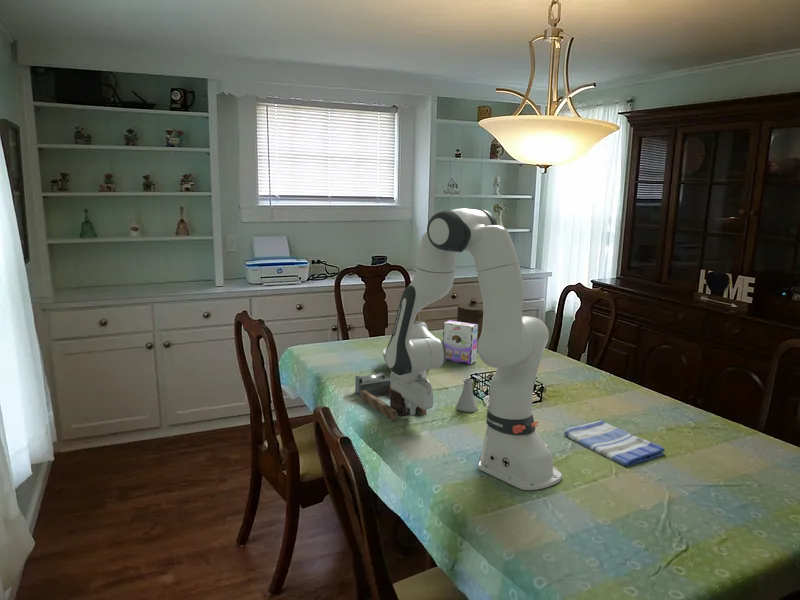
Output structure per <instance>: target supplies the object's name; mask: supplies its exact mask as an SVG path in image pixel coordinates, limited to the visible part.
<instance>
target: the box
mask: <svg viewBox="0 0 800 600" xmlns="http://www.w3.org/2000/svg"><path fill="white" fill-rule="evenodd" d="M389 396H390V400H389V404H390V405H389V406H390V407H392V408H393V409H395V410H396V411H397V415H399V416H407V415H410V414H409V413H408V412H406V405H405V402H404V398H403V397H402V395H401V393H399V392H397V391H395V390H394V389H392V390H390V394H389Z"/></svg>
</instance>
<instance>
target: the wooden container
mask: <svg viewBox="0 0 800 600" xmlns="http://www.w3.org/2000/svg"><path fill="white" fill-rule="evenodd" d="M469 301H470V303H460V304H458V306H457V317H456V318H457V319H456V321H457V322H464V323H470V324H477V325H478V333H477V344H478V340H479V338H480V335H481V333H482V327H483V303H482V304H481V303H477V302H478V299H477V298H476V297H473V298H470V299H469Z"/></svg>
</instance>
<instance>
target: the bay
mask: <svg viewBox="0 0 800 600" xmlns="http://www.w3.org/2000/svg"><path fill="white" fill-rule="evenodd" d="M390 390H392V389H391V386H390V378H385V379H384V380H378V381H372V382H366V383H360V384H359V395H358V398H359V399H360V400H362V401H364V402H365V403H366V404H368V405H369V406H370V407H372V408H373V409H375V410H376V411H378V412H379V413H380V414H382V415H383V414H384V416H385V417H386V416H387V417H386V418H387V419H389V418H390V420H391V421H392V422H396V421H398V414H397V411H396V410H395V409H393V408H392V407H390V405H388V404H387V403H386V402H384V401H382V400H381V399H380V398H378V397H379V396H383V395H384V394H385V395H390ZM378 395H379V396H378ZM427 411H428V409H424V410H423V409H421V408H420V407H418V406H417V407H416V411H415V412H417V413H418V414H419V415H422V416H425V415H427ZM424 414H425V415H424ZM395 420H396V421H395Z"/></svg>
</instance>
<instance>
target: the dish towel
mask: <svg viewBox="0 0 800 600" xmlns="http://www.w3.org/2000/svg"><path fill="white" fill-rule="evenodd" d="M563 435H564V436H565V437H567V438H569V439H570V440H572V441H573V442H576V443H578V444H580V446H583V447H585V448H587V449H588V450H591V451H594V452H596V453H597V454H599V455H602V456H603V457H605V458H608V459H610V460H612V461H613V462H616V463H618V464H620V465H622V466H625V467H630V466H633V465H635V464H636V465H637V464H640V463H643V462H647V461H650V460H653V459H656V458H659V457H662V456H665V455H666V454H665V453H664V452H665V448H664V446H661V444H657V443H655V442H652V441H649V440H647V439H645V438H643V437H639V436H635V435H633V434H631V433H630V432H628V431H626V430H624V429H621V428H619V427H616V426H613V425H611V424H609V423H607V422H605V420H598V421H594V422H593V421H592V422H589V423H584V424H582V425H577V426H576V425H574V426H572V427H569V428H567V429H565V431H563Z"/></svg>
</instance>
